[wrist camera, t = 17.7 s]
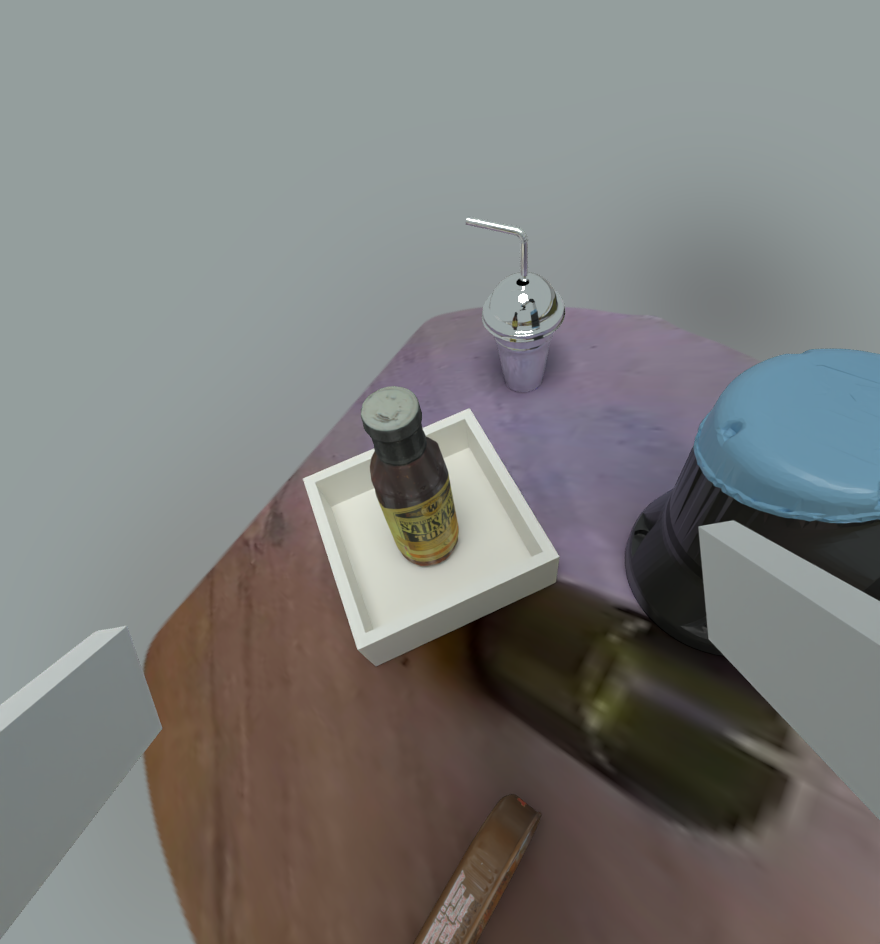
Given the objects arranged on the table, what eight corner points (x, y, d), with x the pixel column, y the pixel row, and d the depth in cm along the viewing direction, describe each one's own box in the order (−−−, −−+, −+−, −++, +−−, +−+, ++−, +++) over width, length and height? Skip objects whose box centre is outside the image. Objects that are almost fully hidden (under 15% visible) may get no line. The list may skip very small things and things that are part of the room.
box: (474, 442, 58) (469, 408, 53) (556, 582, 48) (559, 556, 43) (322, 507, 56) (302, 478, 51) (375, 666, 46) (357, 650, 41)
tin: (423, 1040, 34) (396, 1104, 27) (386, 999, 35) (351, 1048, 28) (544, 815, 39) (548, 819, 32) (508, 786, 40) (504, 783, 33)
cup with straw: (528, 417, 59) (528, 264, 42) (469, 380, 63) (449, 227, 46) (575, 372, 61) (593, 211, 45) (516, 340, 66) (512, 181, 49)
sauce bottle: (420, 582, 49) (364, 468, 32) (386, 534, 52) (320, 408, 36) (476, 542, 50) (449, 413, 34) (440, 498, 54) (400, 361, 37)
